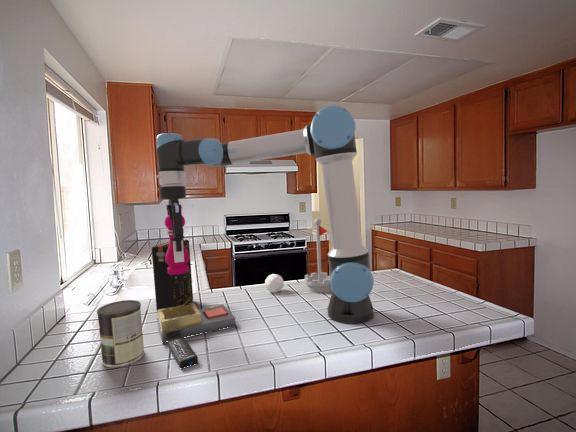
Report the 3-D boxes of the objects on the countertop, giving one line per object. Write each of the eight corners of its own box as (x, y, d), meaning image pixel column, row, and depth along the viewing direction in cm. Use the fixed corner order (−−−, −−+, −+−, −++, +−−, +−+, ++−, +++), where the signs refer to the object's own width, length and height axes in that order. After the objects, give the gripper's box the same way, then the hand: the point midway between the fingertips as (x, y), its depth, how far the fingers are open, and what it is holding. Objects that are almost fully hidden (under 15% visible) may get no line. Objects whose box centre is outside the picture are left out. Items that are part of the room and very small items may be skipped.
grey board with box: (235, 326, 106) (234, 308, 105) (162, 343, 96) (160, 323, 96) (223, 312, 118) (222, 296, 118) (157, 326, 109) (156, 308, 108)
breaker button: (227, 321, 109) (226, 312, 108) (209, 325, 106) (208, 316, 106) (222, 315, 114) (221, 307, 114) (204, 319, 111) (204, 310, 111)
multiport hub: (184, 343, 96) (183, 336, 96) (198, 365, 84) (197, 356, 84) (168, 348, 94) (167, 340, 94) (180, 371, 82) (179, 361, 81)
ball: (279, 299, 138) (284, 286, 134) (261, 293, 138) (265, 280, 133) (282, 285, 144) (287, 273, 140) (265, 279, 144) (269, 267, 140)
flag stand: (298, 289, 141) (295, 219, 139) (319, 282, 150) (316, 216, 148) (321, 295, 132) (318, 220, 129) (342, 287, 141) (339, 217, 138)
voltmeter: (175, 315, 118) (170, 245, 116) (153, 314, 120) (147, 246, 118) (196, 300, 133) (191, 238, 131) (176, 299, 135) (171, 238, 133)
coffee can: (94, 369, 83) (89, 315, 82) (112, 350, 94) (107, 301, 92) (136, 366, 84) (132, 312, 83) (150, 347, 94) (146, 298, 93)
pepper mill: (167, 276, 99) (163, 209, 97) (164, 271, 106) (160, 208, 104) (192, 272, 102) (188, 208, 101) (188, 268, 109) (184, 207, 107)
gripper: (156, 186, 109) (161, 255, 111) (162, 185, 91) (168, 267, 93) (180, 186, 112) (184, 252, 114) (190, 184, 94) (195, 264, 96)
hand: (177, 259), depth 104 cm, fingers closed on pepper mill, 7 cm apart
